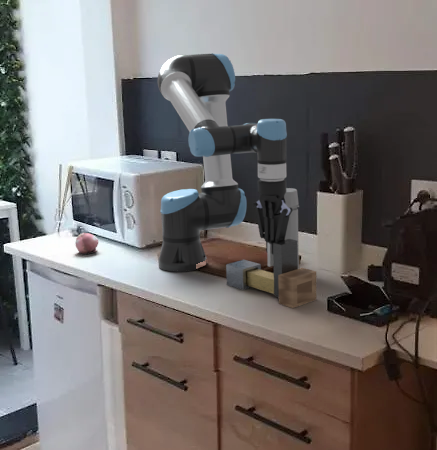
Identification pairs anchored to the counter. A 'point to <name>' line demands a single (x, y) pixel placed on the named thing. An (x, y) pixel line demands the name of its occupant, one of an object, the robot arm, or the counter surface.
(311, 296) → the socket block
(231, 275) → the sleeve
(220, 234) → the counter surface
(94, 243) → the apple
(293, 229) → the water bottle
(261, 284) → the grey and yellow block
